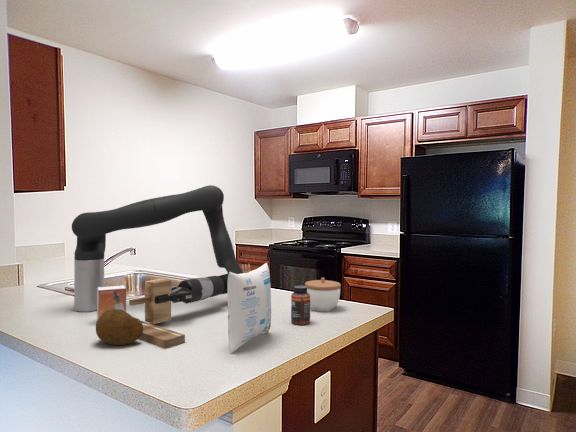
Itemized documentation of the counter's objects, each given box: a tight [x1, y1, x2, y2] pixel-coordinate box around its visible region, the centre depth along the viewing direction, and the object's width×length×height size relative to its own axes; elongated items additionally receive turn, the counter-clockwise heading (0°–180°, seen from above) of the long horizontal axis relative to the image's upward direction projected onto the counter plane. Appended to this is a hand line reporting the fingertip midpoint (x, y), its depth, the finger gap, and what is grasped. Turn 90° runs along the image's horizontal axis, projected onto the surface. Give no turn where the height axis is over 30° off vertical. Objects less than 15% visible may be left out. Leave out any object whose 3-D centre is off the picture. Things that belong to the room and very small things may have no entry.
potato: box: [95, 309, 143, 346], centre depth 103 cm, size 8×12×9 cm
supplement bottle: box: [290, 285, 311, 326], centre depth 123 cm, size 6×6×11 cm
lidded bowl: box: [304, 277, 342, 312], centre depth 141 cm, size 13×13×11 cm
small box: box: [96, 284, 127, 322], centre depth 123 cm, size 8×6×10 cm
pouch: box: [227, 262, 272, 354], centre depth 105 cm, size 8×19×20 cm, turn 151°
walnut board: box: [137, 320, 186, 350], centre depth 110 cm, size 26×6×2 cm, turn 53°
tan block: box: [128, 278, 172, 325], centre depth 117 cm, size 4×12×12 cm, turn 143°
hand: (150, 298), depth 118 cm, fingers closed on tan block, 4 cm apart
